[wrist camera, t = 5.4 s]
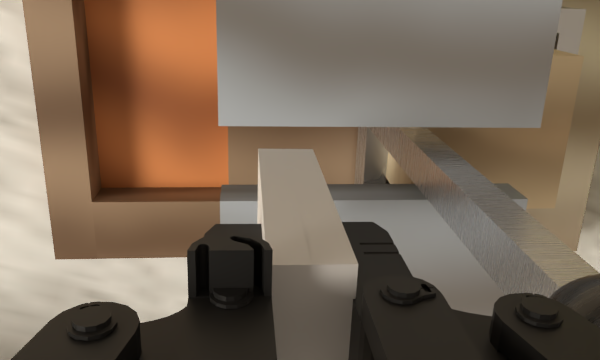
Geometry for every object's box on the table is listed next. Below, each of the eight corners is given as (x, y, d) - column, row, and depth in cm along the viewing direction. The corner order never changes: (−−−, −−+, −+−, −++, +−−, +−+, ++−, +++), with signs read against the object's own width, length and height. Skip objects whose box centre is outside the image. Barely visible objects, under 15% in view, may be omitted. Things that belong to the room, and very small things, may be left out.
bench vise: (31, -94, 25) (-141, -149, 14) (611, -71, 28) (862, -101, 16) (69, 237, 30) (-32, 391, 19) (553, 231, 33) (712, 363, 22)
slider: (350, 1, 25) (662, 79, 6) (561, 6, 26) (1372, 89, 7) (339, 193, 28) (529, 628, 9) (529, 192, 29) (1044, 585, 10)
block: (384, 36, 26) (423, 53, 20) (511, 39, 27) (583, 56, 21) (375, 162, 28) (408, 209, 22) (493, 162, 29) (554, 208, 23)
